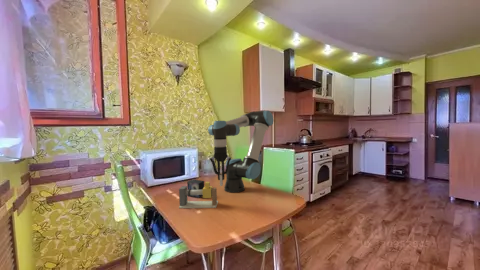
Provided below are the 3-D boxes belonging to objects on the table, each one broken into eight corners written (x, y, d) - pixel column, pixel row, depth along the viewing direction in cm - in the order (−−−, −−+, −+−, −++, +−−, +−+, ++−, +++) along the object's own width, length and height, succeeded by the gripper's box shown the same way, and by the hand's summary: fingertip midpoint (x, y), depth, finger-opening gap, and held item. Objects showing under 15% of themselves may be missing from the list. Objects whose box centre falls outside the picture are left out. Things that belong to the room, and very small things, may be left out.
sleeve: (212, 194, 126) (212, 181, 126) (211, 197, 121) (210, 183, 120) (204, 195, 126) (204, 181, 126) (202, 198, 121) (202, 183, 120)
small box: (187, 196, 141) (186, 181, 140) (193, 193, 146) (192, 179, 146) (199, 198, 136) (198, 183, 135) (205, 195, 141) (204, 180, 141)
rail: (218, 202, 128) (217, 184, 128) (216, 207, 119) (215, 189, 119) (183, 202, 129) (182, 185, 128) (178, 208, 120) (178, 189, 119)
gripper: (231, 145, 126) (232, 183, 126) (210, 146, 126) (211, 183, 127) (230, 146, 118) (231, 186, 119) (208, 147, 119) (209, 187, 119)
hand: (221, 185), depth 123 cm, fingers closed
